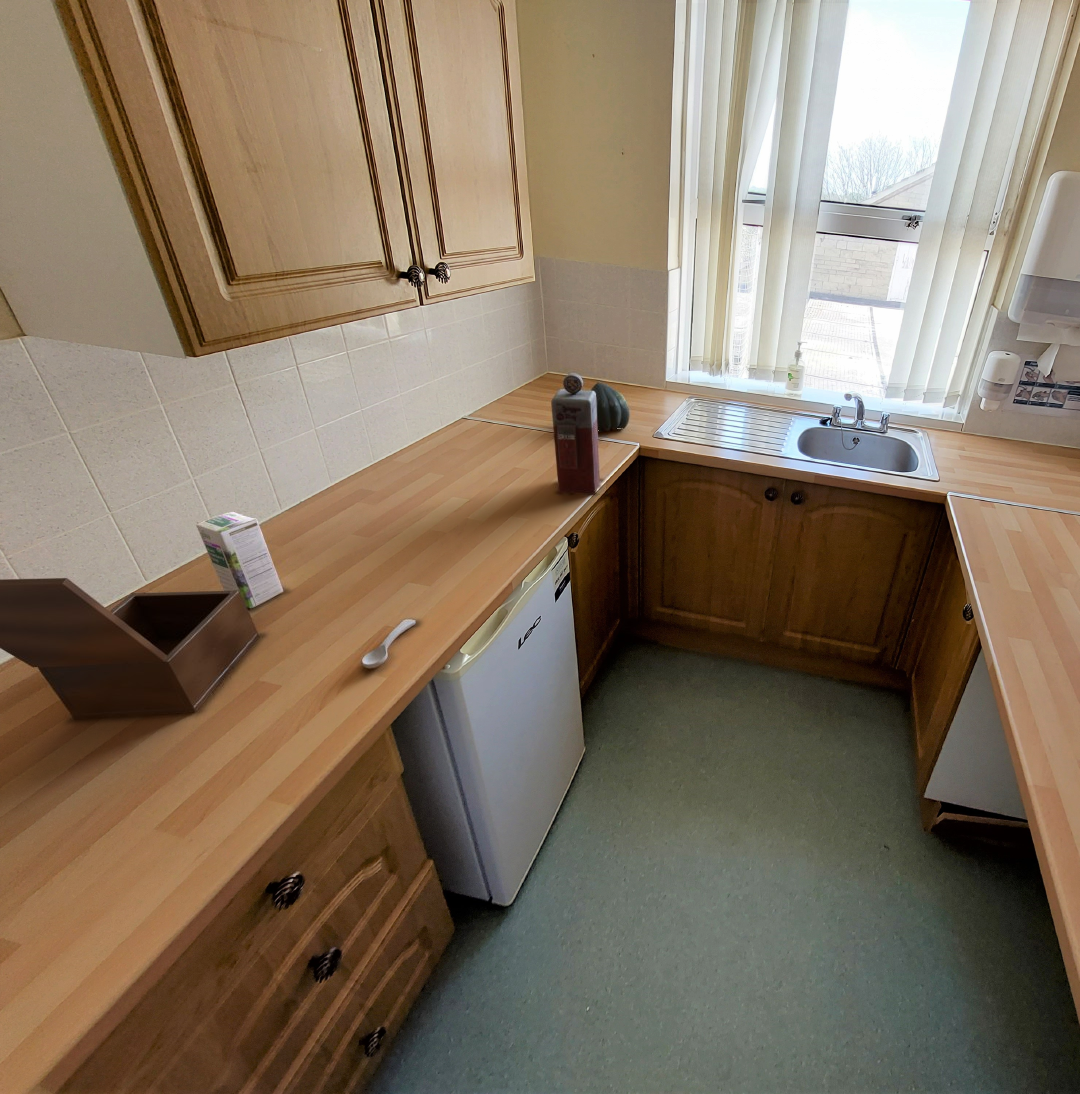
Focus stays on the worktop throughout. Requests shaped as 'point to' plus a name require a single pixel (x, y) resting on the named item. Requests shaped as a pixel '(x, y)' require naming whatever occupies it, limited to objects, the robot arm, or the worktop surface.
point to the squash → (610, 408)
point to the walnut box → (180, 633)
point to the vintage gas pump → (576, 437)
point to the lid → (65, 627)
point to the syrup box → (240, 557)
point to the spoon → (385, 646)
